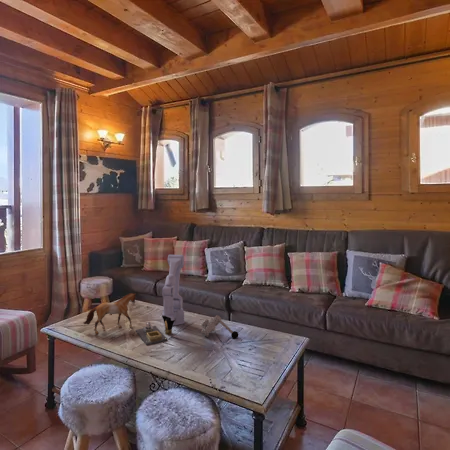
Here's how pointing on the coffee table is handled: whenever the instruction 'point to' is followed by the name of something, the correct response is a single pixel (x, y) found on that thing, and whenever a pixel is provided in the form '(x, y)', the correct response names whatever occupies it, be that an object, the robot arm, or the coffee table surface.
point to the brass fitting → (167, 332)
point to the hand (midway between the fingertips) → (168, 328)
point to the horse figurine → (111, 310)
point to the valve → (214, 322)
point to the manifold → (151, 334)
